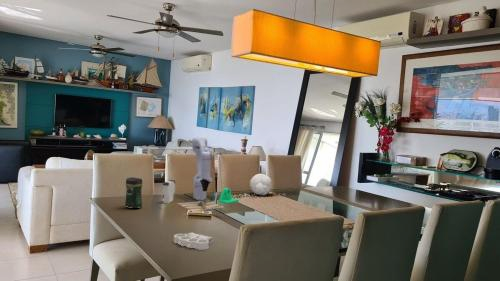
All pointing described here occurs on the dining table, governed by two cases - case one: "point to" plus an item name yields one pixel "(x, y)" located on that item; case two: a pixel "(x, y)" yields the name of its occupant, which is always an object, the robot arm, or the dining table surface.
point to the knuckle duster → (193, 240)
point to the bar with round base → (202, 204)
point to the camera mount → (227, 196)
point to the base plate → (194, 206)
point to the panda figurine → (168, 191)
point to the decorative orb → (260, 184)
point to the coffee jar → (133, 192)
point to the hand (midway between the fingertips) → (204, 191)
